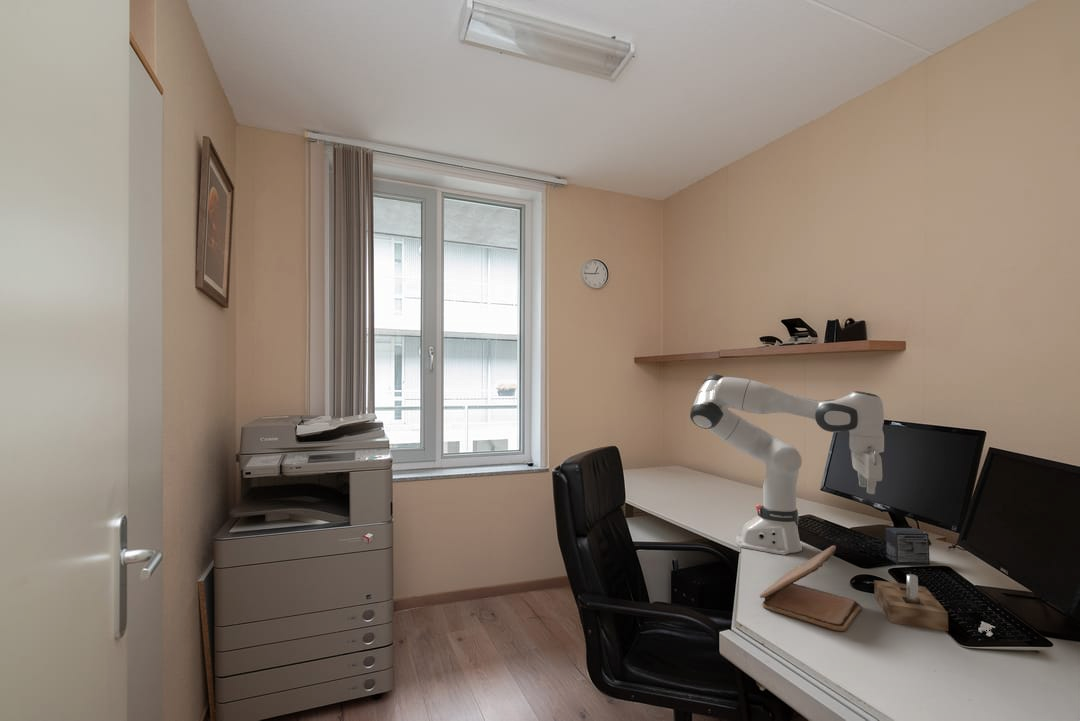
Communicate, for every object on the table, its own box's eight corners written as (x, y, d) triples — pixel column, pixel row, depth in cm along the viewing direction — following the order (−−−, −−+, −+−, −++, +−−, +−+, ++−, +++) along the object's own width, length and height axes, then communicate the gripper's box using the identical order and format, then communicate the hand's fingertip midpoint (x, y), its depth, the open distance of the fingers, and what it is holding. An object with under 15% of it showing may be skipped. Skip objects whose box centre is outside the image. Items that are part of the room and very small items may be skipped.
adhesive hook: (977, 633, 121) (976, 620, 121) (983, 631, 122) (982, 618, 122) (992, 639, 118) (992, 626, 118) (998, 637, 119) (997, 624, 119)
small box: (917, 557, 169) (917, 527, 169) (931, 565, 163) (930, 533, 163) (885, 557, 170) (884, 526, 170) (897, 564, 164) (896, 532, 164)
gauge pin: (920, 621, 126) (919, 578, 126) (909, 619, 127) (907, 576, 127) (917, 617, 128) (915, 574, 128) (906, 615, 129) (904, 573, 129)
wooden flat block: (890, 622, 126) (889, 604, 126) (874, 595, 140) (874, 580, 141) (948, 631, 121) (947, 612, 121) (925, 603, 136) (925, 586, 136)
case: (783, 584, 149) (781, 531, 149) (864, 607, 134) (862, 548, 134) (756, 608, 135) (754, 549, 135) (843, 636, 120) (841, 570, 120)
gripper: (888, 450, 139) (889, 499, 139) (870, 441, 158) (870, 484, 158) (862, 448, 141) (863, 496, 141) (847, 439, 160) (847, 482, 160)
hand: (866, 490), depth 149 cm, fingers open, 8 cm apart
